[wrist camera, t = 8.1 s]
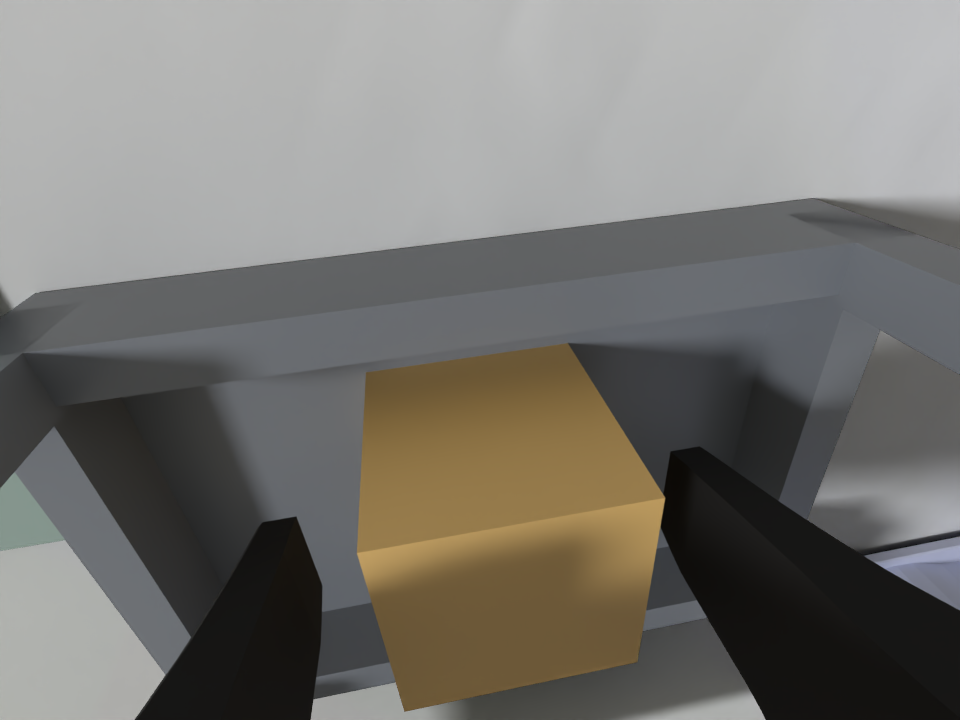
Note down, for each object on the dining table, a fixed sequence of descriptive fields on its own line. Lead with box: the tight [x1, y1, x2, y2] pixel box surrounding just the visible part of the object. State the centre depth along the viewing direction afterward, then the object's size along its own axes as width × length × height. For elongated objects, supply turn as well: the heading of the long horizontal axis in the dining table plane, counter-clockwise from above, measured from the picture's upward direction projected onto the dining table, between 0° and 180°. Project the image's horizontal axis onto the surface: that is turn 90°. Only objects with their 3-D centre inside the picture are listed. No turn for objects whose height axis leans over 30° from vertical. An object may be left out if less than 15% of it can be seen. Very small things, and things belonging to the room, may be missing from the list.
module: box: [357, 343, 665, 711], centre depth 10 cm, size 4×4×5 cm
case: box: [0, 198, 960, 699], centre depth 11 cm, size 16×11×6 cm
